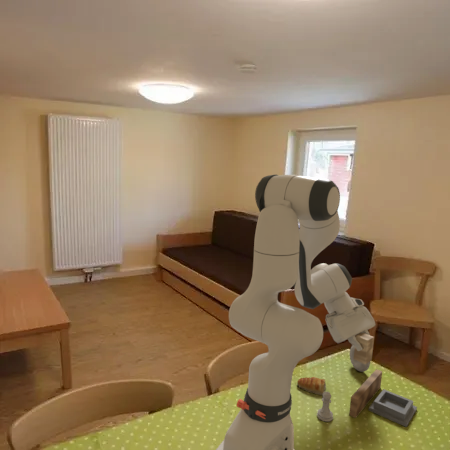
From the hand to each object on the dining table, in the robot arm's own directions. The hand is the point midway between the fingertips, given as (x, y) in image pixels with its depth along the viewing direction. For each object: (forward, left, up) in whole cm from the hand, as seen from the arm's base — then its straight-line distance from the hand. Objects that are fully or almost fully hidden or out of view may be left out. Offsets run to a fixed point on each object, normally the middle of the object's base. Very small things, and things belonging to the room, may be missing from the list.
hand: (365, 347), depth 120 cm
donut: (+17, +7, -18) cm, 25 cm away
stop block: (0, +1, -4) cm, 4 cm away
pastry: (-6, +14, -18) cm, 23 cm away
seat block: (+1, -10, -17) cm, 20 cm away
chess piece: (-17, +4, -18) cm, 25 cm away
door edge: (0, -2, -17) cm, 17 cm away
